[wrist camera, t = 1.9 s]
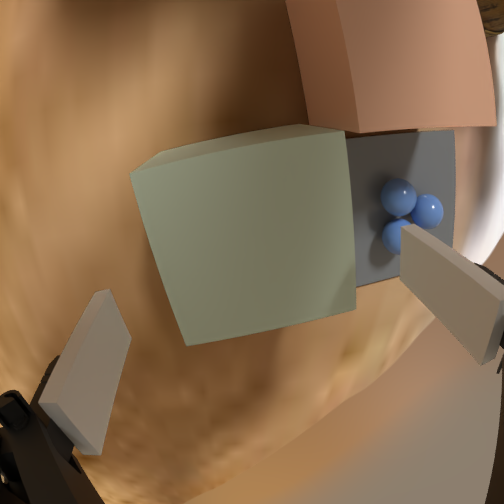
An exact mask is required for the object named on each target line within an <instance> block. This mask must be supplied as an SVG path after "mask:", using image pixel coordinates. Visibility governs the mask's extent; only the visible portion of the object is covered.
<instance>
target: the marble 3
mask: <svg viewBox="0 0 504 504" xmlns="http://www.w3.org/2000/svg"><path fill="white" fill-rule="evenodd" d="M410 213H411V218H412V220H413V222H414V223H415V224H416V225H417V226H419V227H420V228H422V229H433V228H435V227H437V226H438V225H439V224H440V223H441V221H442V219H443V215H444V210H443V206H442V203H441V202H440V200H439V199H438V198H437V197H435V196H434V195H431V194H422V195H419V196H418V197H417V201H416V205H415V207H414V209H413V210H412V211H411V212H410Z"/></svg>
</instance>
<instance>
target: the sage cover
mask: <svg viewBox="0 0 504 504" xmlns="http://www.w3.org/2000/svg"><path fill="white" fill-rule="evenodd" d="M130 178H131V182H132V186H133V189H134V193H135V196H136V200H137V203H138V207H139V210H140V214H141V217H142V220H143V224H144V227H145V230H146V233H147V237H148V240H149V243H150V246H151V249H152V252H153V255H154V258H155V261H156V264H157V267H158V270H159V273H160V276H161V279H162V282H163V285H164V288H165V291H166V293H167V296H168V299H169V302H170V305H171V307H172V310H173V313H174V315H175V318H176V321H177V323H178V326H179V329H180V331H181V334H182V336H183V339H184V341H185V344H186V346H191V345H197V344H203V343H208V342H214V341H219V340H224V339H230V338H235V337H240V336H245V335H250V334H255V333H259V332H264V331H269V330H273V329H278V328H282V327H287V326H291V325H296V324H300V323H304V322H308V321H313V320H317V319H321V318H325V317H329V316H333V315H337V314H340V313H344V312H348V311H352V310H356V268H355V243H354V225H353V210H352V197H351V186H350V175H349V165H348V156H347V148H346V139H345V132H344V131H342V130H336V129H330V128H324V127H317V126H311V125H303V124H294V125H287V126H281V127H275V128H269V129H263V130H257V131H251V132H246V133H241V134H236V135H231V136H226V137H221V138H216V139H211V140H207V141H202V142H198V143H194V144H189V145H185V146H181V147H177V148H173V149H169V150H165V151H161V152H159V153H158V154H157V155H155V156H154V157H152V158H151V159H149V160H148V161H146V162H145V163H144V164H142V165H141V166H139V167H138V168H137V169H135V170H134V171H132V172H131V173H130Z"/></svg>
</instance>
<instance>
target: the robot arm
mask: <svg viewBox="0 0 504 504" xmlns="http://www.w3.org/2000/svg"><path fill="white" fill-rule="evenodd" d="M400 280H401V281H402V282H403V283H404V284H405V285H406V286H407V287H408V288H409V289H410V290H411V291H412V292H413V293H414V294H415V295H416V296H417V297H418V299H419V300H420V301H421V302H422V303H423V304H424V305H425V306H426V307H427V308H428V309H429V310H430V311H431V312H432V313H433V314H434V315H435V316H436V317H437V318H438V319H439V320H440V321H441V322H442V324H443V325H444V326H445V327H446V328H447V329H448V330H449V331H450V332H451V333H452V334H453V335H454V337H455V338H456V339H457V340H458V341H459V342H460V343H461V344H462V345H463V347H464V348H465V349H466V350H467V351H468V352H469V353H470V354H471V355H472V357H473V358H474V359H475V360H476V361H477V362H478V364H479V365H480V366H481V365H483V364H485V363H487V362H489V361H491V360H492V359H494V358H495V357H496V354H497V351H498V348H499V345H500V346H501V347H502V348H503V349H504V280H503V279H501V278H500V277H498V275H496V274H495V275H494V273H493V272H492V271H491V270H489V269H488V268H486V267H484V266H482V265H479V264H477V263H473V262H471V261H470V260H468V259H467V258H465V257H464V256H463V255H461V254H460V253H458V252H457V251H455V250H454V249H452V248H451V247H449V246H448V245H446V244H445V243H443V242H442V241H440V240H439V239H437V238H436V237H434V236H433V235H431V234H430V233H428V232H427V231H425V230H423V229H422V228H420V227H419V226H417V225H416V224H410V225H406V226H401V253H400ZM131 339H132V338H131V336H130V334H129V331H128V329H127V327H126V325H125V323H124V321H123V318H122V316H121V314H120V312H119V309H118V307H117V305H116V302H115V300H114V298H113V295H112V293H111V290H110V289H107V290H102V291H97V292H95V293H94V295H93V297H92V298H91V300H90V302H89V304H88V305H87V307H86V309H85V311H84V312H83V314H82V316H81V318H80V320H79V321H78V323H77V325H76V327H75V329H74V331H73V332H72V334H71V336H70V338H69V340H68V342H67V344H66V346H65V348H64V349H63V351H62V353H61V355H58V356H57V357H56V358H55V359H54V360H53V361H52V362H51V363H50V364H49V366H48V368H47V370H46V372H45V376H43V378H42V380H41V383H40V384H39V386H38V388H37V390H36V392H35V394H34V396H33V399H32V401H31V403H30V405H29V404H28V403H27V402H26V400H25V399H24V398H23V397H22V395H21V394H20V393H19V391H16V390H10V391H7V392H5V393H3V394H2V395H1V396H0V423H1V425H2V426H3V427H1V428H0V504H105V503H104V502H103V500H102V499H101V497H100V496H99V494H98V493H97V491H96V490H95V488H94V486H93V485H92V483H91V482H90V480H89V479H88V477H87V475H86V474H85V472H84V470H83V469H82V467H81V465H80V463H79V462H78V460H77V458H76V457H75V456H74V455H73V454H72V451H73V447H74V446H75V447H76V448H77V449H78V450H79V451H80V452H81V453H82V454H83V455H101V454H102V449H103V445H104V440H105V436H106V432H107V427H108V423H109V419H110V415H111V411H112V407H113V403H114V399H115V395H116V392H117V388H118V384H119V381H120V377H121V373H122V370H123V366H124V363H125V359H126V356H127V352H128V349H129V346H130V342H131ZM501 368H502V395H501V410H500V422H499V430H498V438H497V446H496V452H495V459H494V464H493V470H492V475H491V480H490V485H489V489H488V493H487V497H486V501H485V504H504V354H503V357H502V359H501V362H500V364H499V367H498V370H497V373H498V374H499V372H500V370H501ZM1 475H3V476H4V481H5V482H4V483H3V482H2V479H1Z"/></svg>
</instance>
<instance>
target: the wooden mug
mask: <svg viewBox="0 0 504 504" xmlns="http://www.w3.org/2000/svg"><path fill="white" fill-rule="evenodd" d="M476 1H477V5H478V8H479V12H480V16H481V20H482V24H483V29H484V33H485V37H490V36H495V35H498V34H502V33H503V32H504V0H476Z"/></svg>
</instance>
